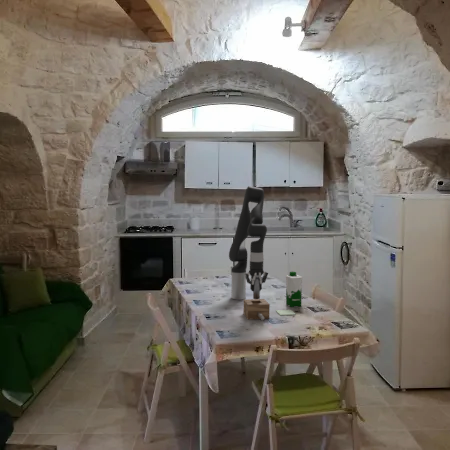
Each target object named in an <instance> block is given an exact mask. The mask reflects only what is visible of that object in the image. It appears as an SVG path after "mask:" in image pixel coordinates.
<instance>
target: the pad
mask: <svg viewBox="0 0 450 450" xmlns="http://www.w3.org/2000/svg"><path fill="white" fill-rule="evenodd" d="M275 312H276V313H277V314H278V315H279V316H280V317H282V315H286V316H296V313H295V312H294V311H293V310H291V309H280V310H279V309H278V310H275Z"/></svg>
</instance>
